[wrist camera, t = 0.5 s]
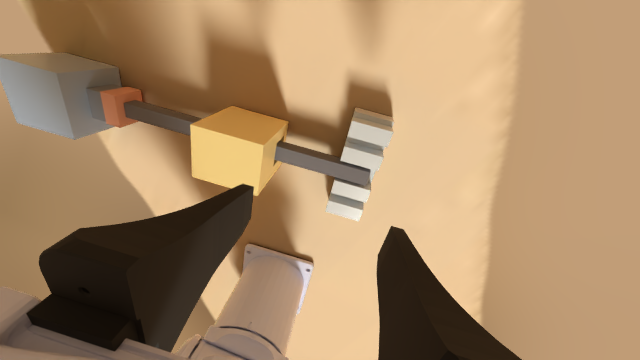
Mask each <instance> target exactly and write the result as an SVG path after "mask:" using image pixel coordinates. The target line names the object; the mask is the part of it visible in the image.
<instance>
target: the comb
mask: <svg viewBox="0 0 640 360" xmlns="http://www.w3.org/2000/svg"><path fill="white" fill-rule="evenodd" d="M393 124H394V120H393V117H390V116H386V115H383V114H379V113H375V112H371V111H368V110H364V109H360V108H357V107H355V111H354V114H353V118H352V121H351V124H350V128H349V131H348V135H347V138H346V142H345V145H344V148H343V152H342V155H341V160H340V161H343V162H347V163H350V164H354V165H357V166H361V167H365V168H368V169H371V173H370V176H369V179H368V181H367V184H366V186H364V185H361V184H357V183H354V182H350V181H347V180H343V179H340V178H336V177H335V179H334V182H333V186H332V189H331V193H330V196H329V200H328V203H327V207H326V211H325V212H329V213H332V214H335V215H339V216H342V217H346V218H349V219H352V220H356V221H359V220H360V217H361V215H362V212H363V203H364V202H365V203H366V202H367V199H368V197H369V194H370V191H371V182H372V179H373V176H374V174H375V171H379V168H380V165H381V163H382V160H383V158H384V156H383V150H384V147H388V145H389V142H390V140H391V137H392V134H393V129H392V126H393Z"/></svg>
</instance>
